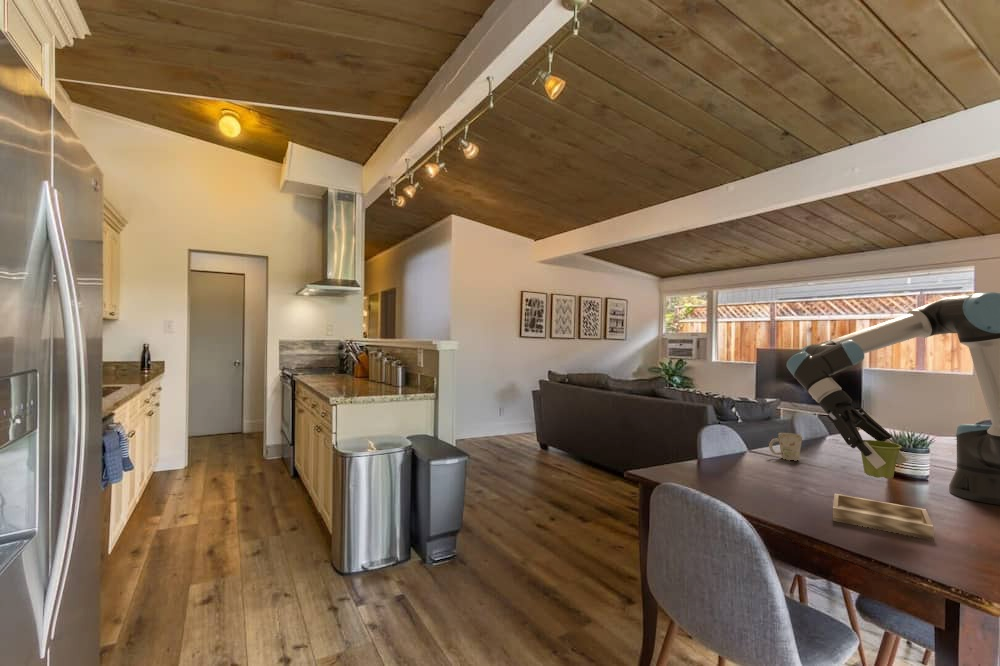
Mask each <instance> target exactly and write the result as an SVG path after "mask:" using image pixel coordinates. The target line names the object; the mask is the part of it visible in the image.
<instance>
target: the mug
mask: <svg viewBox="0 0 1000 666" xmlns="http://www.w3.org/2000/svg"><path fill="white" fill-rule="evenodd" d="M802 441H803V436H802V435H801V434H797V433H791V432H779V433H778V437H777V438H772V439H771V440H770V442H769V444H768V448H769V451H770V452H771V453H772V454H774V455H777V456H778V455H779V456H781V459H782V458H783V460H785V459H786V460H785V461H790V460H794V461H793V462H796V461H797V460H798V461H799V460H800V454H801V448H802ZM776 442H778V443H779V448H780V452H778V451H777V452H776V451H775V450H774V449H773V444H774V443H776Z"/></svg>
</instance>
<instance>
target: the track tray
mask: <svg viewBox="0 0 1000 666" xmlns="http://www.w3.org/2000/svg"><path fill="white" fill-rule="evenodd" d="M833 496H834V497H833V504H832V521H833V522H837V523H842V524H848V525H853V526H857V525H858V526H857V527H862V526H863V527H862V528H867V527H869V528H868V529H872V528H873V530H877V529H878V530H877V531H881V530H883V532H886V531H888V532H887V533H891V532H893V533H892V534H896V533H899V534H898V535H901V534H904V535H903V536H906V535H909V536H908V537H911V536H913V537H912V538H916V537H918V538H917V539H921V538H922V540H926V539H927V540H926V541H931V540H932V541H931V542H934V537H935V536H934V535H935V534H934V532H935V531H934V525H933V524H934V523H932V520H931V517H930V516H929V514H928V511H927V509H926V508H921V507H914V506H910V505H903V504H902V505H901V504H898V503H891V502H886V501H880V500H879V501H878V500H874V499H869V498H863V497H857V496H856V497H855V496H851V495H847V494H846V495H845V494H840V493H834V495H833Z"/></svg>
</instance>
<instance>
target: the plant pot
mask: <svg viewBox="0 0 1000 666" xmlns="http://www.w3.org/2000/svg"><path fill="white" fill-rule="evenodd" d="M864 442H867V443H868V444H869V445H870V446H871V447H872V448H873V449H874V450H875V451H876V452H877V454H878V455H879V456H880V457H881V458H882V459H883V460H884V461H885V462H886V464H884V465H883V466H881V467H879V468H878V469H876V468H875V467H874V466H873V465H872V464H871V463H870V462H869V460H868V459H867V458H866V457H865V456H864V455H863V454H862V452H861V451H860V455H861V459H862V466H863V472H864V474H865V475H867V476H869V477H873V478H884V479H888V480H889V479H893V478H894V475H895V470H896V467H897V466H896V465H897V463H896V461H897V455H898V453H899V450H900V451H901V449H902V447H903V446H902V445H901V444H897V443H895V442H894V443H893V442H892V443H890V442H883V441H877V440H875V439H874V440H872V439H871V440H870V439H863V443H864Z"/></svg>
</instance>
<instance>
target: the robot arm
mask: <svg viewBox="0 0 1000 666" xmlns="http://www.w3.org/2000/svg"><path fill="white" fill-rule="evenodd" d="M945 334H947V335H948V334H956V335H957V337H958V341H959V343H961V344H962V345H964V346H966V347H967V348H968V349H969V353H970V357H971V359H972V362H973V366H974V368H975V372H976V376H977V379H978V382H979V386H980V390H981V392H982V395H983V399H984V402H985V405H986V409H987V412H988V416H989V418H990V422H991V424H975V423H974V424H972V423H961V424H958V426H957V428H956V433H955V437H956V470H955V472H954V473H953V476H952V477H951V478H952V479H951V480H950V482H949V484H948V485H949V486H948V492H949V493H950V494H952V495H954V496H956V497H959V498H963V499H967V500H970V501H974V502H979V503H983V504H990V505H991V504H992V505H999V506H1000V292H995V291H994V292H993V291H992V292H990V291H989V292H986V291H984V292H983V291H982V292H976V293H974V292H973V293H969V294H961V295H952V296H951V295H950V296H948V297H944V298H940V299H938V300H935V301H933V302H930V303H928V304H925V305H922V306H919V307H917V308H915V309H911V310H909V311H908V312H907V313H906V315H902V316H900V317H896V318H893V319H889V320H887V321H885V322H880V323H879V324H876V325H873V326H872V325H871V326H869V327H867V328H863V329H861V330H857V331H853V332H851V333H849V334H844V335H842V336H839V337H835V338H833V339H830V340H827V341H823V342H821V343H817V344H815V343H814V344H808V345H806V346H804V347H803V348H802V349H801V350H800V352H797V353H795V354H793V355H792V356H791V357H789V359H788V360H787V361H786V368H787V369H788V372H790V374H791V375H792V376H793V378H794V379H796V380H797V382H798V383H799V384H800V385H801V386H802V387H803V388H804V389H805V390H806V392H808V394H809V395H810V396H811V398H812V399H813V400H815V402H816V403H817V404H819V406H820V408H821V409H822V410H823V411H824V412H825V413H826V414H827V415H826V417H827V418H828V419H829V420H830V421H831V423H832V424H833V426H834V427H835V429H836V430H837V431H838V433H839V434H840V436H841V437H842V438H843V440H844V441H845V443H846V445H848V446H850V448H852V449H856V448H857V450H859V452H860V453H861V452H862V454H863V455H864V456H865V457H866V458H867V459H868V460H869V462H870V463H871V464H872V465H873V466H874V467H875V468H876V469H878V468H879V467H881V466H883V465H884V464H886V462H885V461H884V460H883V459H882V458H881V457H880V456H879V455H878V454H877V452H876V451H875V450H874V449H873V448H872V447H871V446H870V445H869V444H868V443H867V442H864V443H863V440H864V439H863V438H862V436H861V434H860V432H859V430H858V428H859V429H861V430H862V431H863V432H865V433H866V434H867V435H869V436H870V437H872V438H873V439H874V440H875V441H883V442H890V443H893V442H892V441H891V438H893V435H892V434H891V433H890V432H889V431H887V430H886V429H885V428H884V427H883V426H882V425H880V424H879V423H878V422H877V421H875V419H873V418H872V417H871V415H869V414H868V413H867V412H866V411H865V410H864V409H863V408H860V409H858V410H857V409H856V408H854V407H853V406H852V403H853V399H852V398H851V397H850V395H848V393H847V392H846V391H844V390H842V389H843V388H842V387H841V386H840V385H839V384H838V383H837V382H836V381H835V380H834V379H833V377H832V376H833V375H835V374H837V373H839V372H843V371H844V370H847V369H848V368H851V367H853V366H854V367H855V366H856V365H857V364H858V363H861V362H862V361H863V360H864V359H865V354H867V353H871V352H873V351H877V350H879V349H884V348H886V347H890V346H893V345H896V344H899V343H903V342H905V341H909V340H912V339H915V338H918V337H919V338H921V339H922V338H923V339H925V338H929V337H932V336H938V335H945ZM908 461H909V458H908V457H907V456H905V454H904V453H903V452H902V451H901V449H900V450H899V453H898V455H897V461H896V465H898V466H902V465H903V464H904V463H906V462H908Z"/></svg>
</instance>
